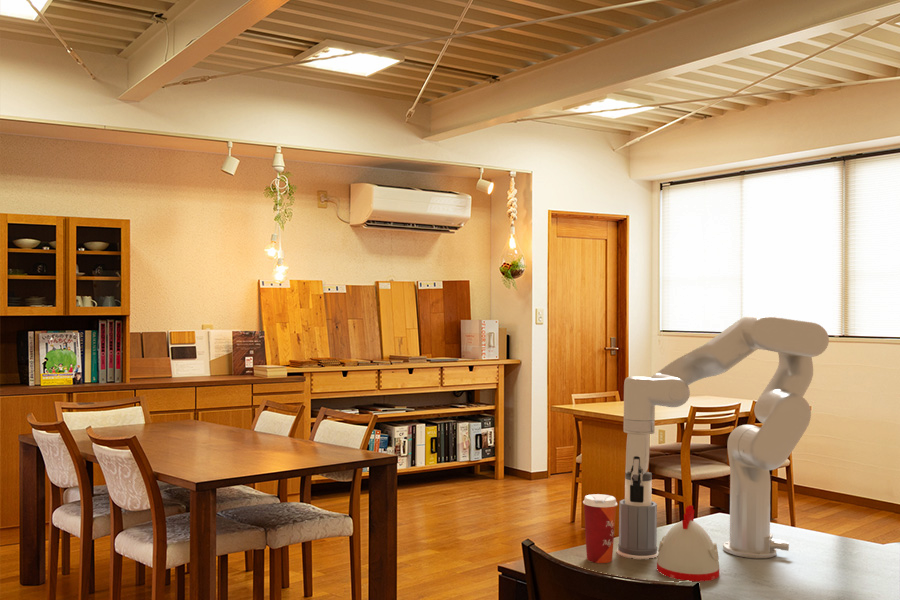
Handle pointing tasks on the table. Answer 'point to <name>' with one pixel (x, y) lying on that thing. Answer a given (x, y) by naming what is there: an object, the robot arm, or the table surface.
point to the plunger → (647, 489)
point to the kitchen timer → (688, 552)
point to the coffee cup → (599, 527)
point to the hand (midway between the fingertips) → (638, 498)
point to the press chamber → (637, 531)
